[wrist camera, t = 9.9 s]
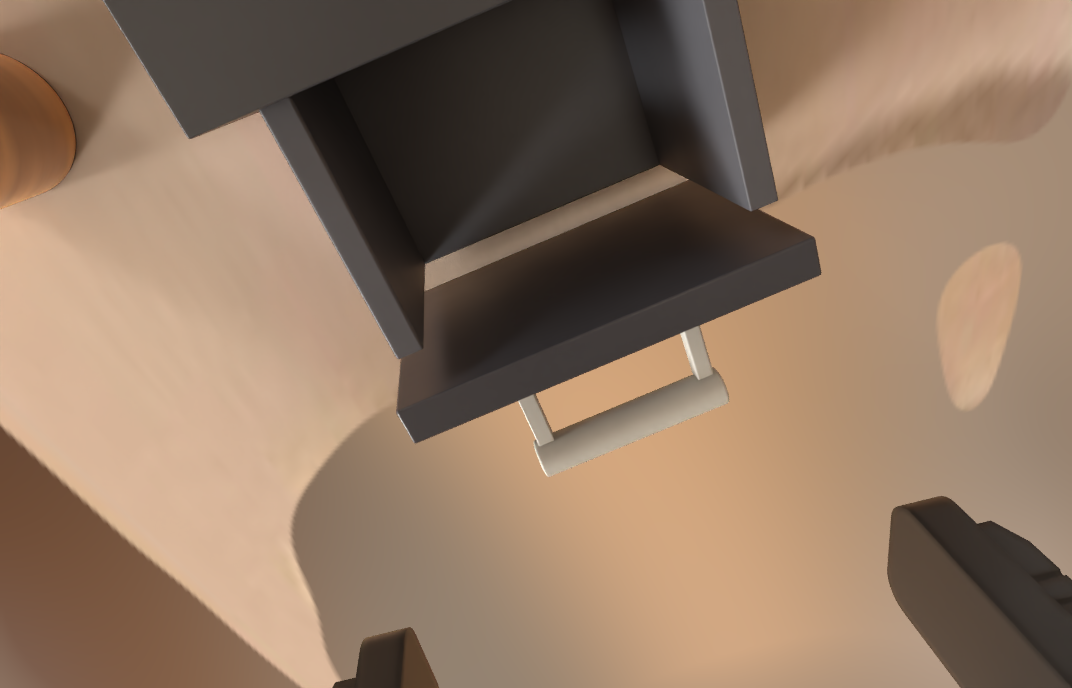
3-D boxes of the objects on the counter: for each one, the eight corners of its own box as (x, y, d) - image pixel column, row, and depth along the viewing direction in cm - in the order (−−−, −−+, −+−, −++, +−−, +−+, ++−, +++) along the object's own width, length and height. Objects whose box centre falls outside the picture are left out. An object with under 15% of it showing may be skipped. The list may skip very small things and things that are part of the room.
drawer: (731, 314, 28) (849, 419, 20) (470, 423, 28) (485, 568, 20) (585, -238, 19) (693, -432, 11) (211, -72, 20) (66, -152, 12)
